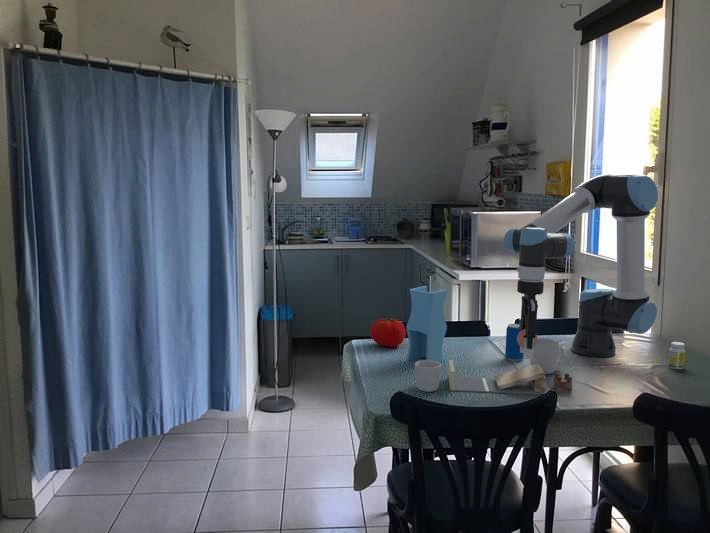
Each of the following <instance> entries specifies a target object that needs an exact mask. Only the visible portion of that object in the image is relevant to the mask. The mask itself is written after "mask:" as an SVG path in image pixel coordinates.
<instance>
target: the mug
mask: <svg viewBox="0 0 710 533" xmlns="http://www.w3.org/2000/svg"><path fill="white" fill-rule="evenodd" d="M537 338H538V337H537ZM564 359H565V349H564V348H563V347H562V346H560V342H558V341H557V340H554V339H552V338H538V341H537V344H536V345H535V346H534V351H533V359H529V360H530V366H532V365H535V364H538V363H539V365H540V367H541V368H542V370H543V372H544V374H545V375H549V374H553V373H554V372H555V370H557V369H556V368H557V366H558V365H560V364H561V363H562V362H563V361H564Z"/></svg>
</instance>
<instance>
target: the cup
mask: <svg viewBox="0 0 710 533" xmlns="http://www.w3.org/2000/svg"><path fill="white" fill-rule="evenodd" d="M441 371H442V362H440V363H439V362H437V361H432V360H426V359H422V360H417V361H415V362H414V374H415V375H414V376H415V384H416V388H417V390H419V391H420V392H425V393H432V392H435V391H437V390H438V389H439V385H440V378H441Z"/></svg>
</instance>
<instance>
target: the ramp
mask: <svg viewBox="0 0 710 533" xmlns="http://www.w3.org/2000/svg"><path fill="white" fill-rule="evenodd" d="M494 379H496V382H497V385H498V388H499V390H501V389H504V388H507V387H511V386H514V385H518V384H521V383H524V382H528V381H530V383H531V385H532V387H533V389H534V391H535V392H545V386H546V383H547V378H546V374H544V372H543V370H542V368H541V367H540V365H539V363H538V364H535V365H532V366H531V365H529V366H528V365H527V366H526V367H522V368H519V369H515V370H513V371H512V370H511V371H508V372H505V373H503V374H499V375H496V376H494Z"/></svg>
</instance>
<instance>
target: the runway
mask: <svg viewBox="0 0 710 533" xmlns="http://www.w3.org/2000/svg"><path fill="white" fill-rule="evenodd" d="M455 372H456V371H455V365H454V360H453V359H448V376H447V378H448V385H449V386H448V387H449V391H450V392H465V393H466V392H467V393H469V392H470V393H486V394H487V393H488V394H489V393H491V394H516V395H518V394H519V395H538V396H541V394H544V393H545V392H547V391H549V390H551V388H550V387H549V385H548V383H547V382H546V386H545V392H535V391H534V389H533V387H532V385H531V383H530V381H528V382H524V383H521V384H518V385H514V386H511V387H507V388H504V389H501V390H499V388H498V385H497V382H496V379H495V378H489V377H488V378H486V377H462V376H461V377H460V376H459V377H457V376H456V375H455V374H456V373H455Z"/></svg>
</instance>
